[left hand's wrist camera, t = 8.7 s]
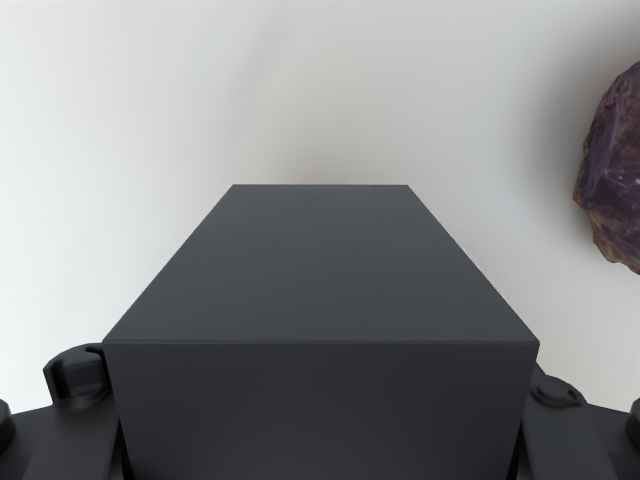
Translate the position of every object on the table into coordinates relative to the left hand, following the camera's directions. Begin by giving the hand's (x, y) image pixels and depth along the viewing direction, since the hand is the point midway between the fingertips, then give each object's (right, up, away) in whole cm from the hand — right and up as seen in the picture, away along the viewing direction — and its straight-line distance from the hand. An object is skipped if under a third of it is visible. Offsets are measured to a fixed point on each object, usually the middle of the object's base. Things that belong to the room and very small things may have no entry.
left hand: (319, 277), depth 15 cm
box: (0, -8, +4) cm, 9 cm away
